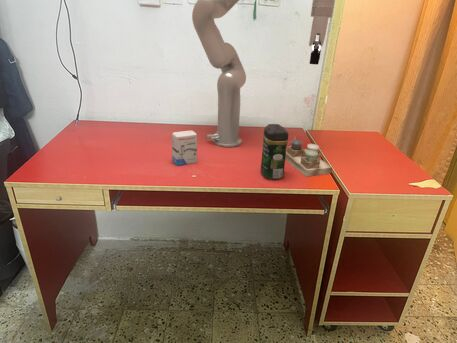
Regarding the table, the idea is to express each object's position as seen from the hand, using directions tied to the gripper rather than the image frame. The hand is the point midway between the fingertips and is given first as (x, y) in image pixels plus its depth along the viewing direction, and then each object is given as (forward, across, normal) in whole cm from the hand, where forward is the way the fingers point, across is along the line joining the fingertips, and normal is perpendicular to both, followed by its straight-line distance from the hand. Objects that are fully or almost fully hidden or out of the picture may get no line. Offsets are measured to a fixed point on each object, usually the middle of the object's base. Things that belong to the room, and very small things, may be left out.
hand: (314, 62), depth 129 cm
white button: (+34, +11, +4) cm, 36 cm away
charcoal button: (+34, +9, -2) cm, 35 cm away
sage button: (+34, +18, +4) cm, 38 cm away
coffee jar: (+38, +25, -9) cm, 46 cm away
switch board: (+37, +12, +3) cm, 39 cm away
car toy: (+38, -11, -4) cm, 40 cm away
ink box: (+38, +26, -43) cm, 63 cm away
